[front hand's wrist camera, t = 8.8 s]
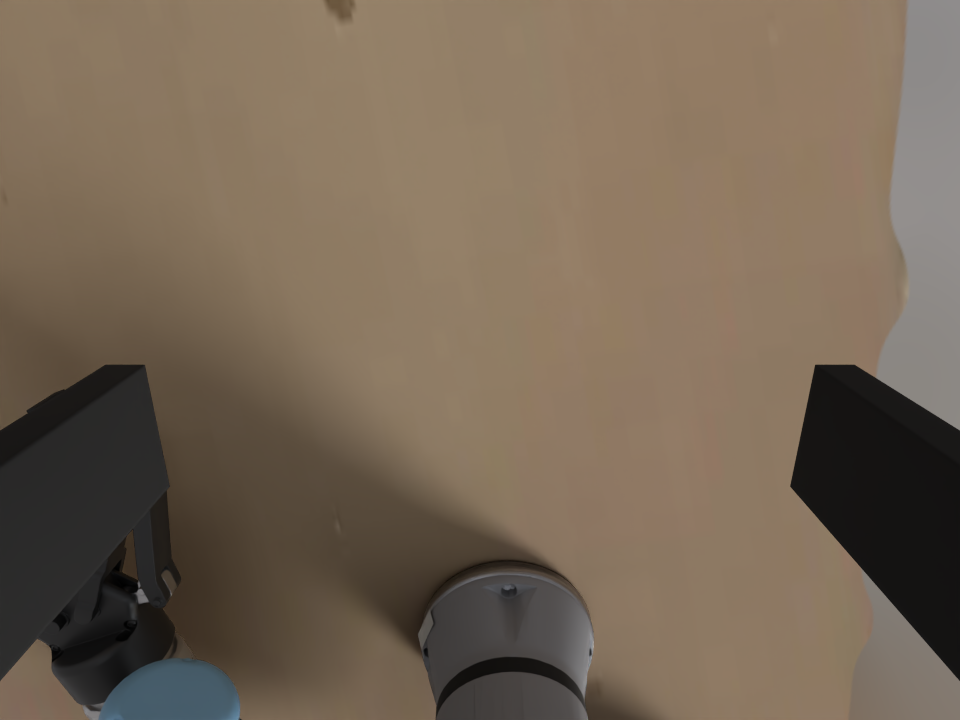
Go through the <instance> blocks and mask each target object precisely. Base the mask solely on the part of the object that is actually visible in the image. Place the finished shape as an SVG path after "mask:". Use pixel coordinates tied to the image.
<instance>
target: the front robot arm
mask: <svg viewBox="0 0 960 720" xmlns="http://www.w3.org/2000/svg"><path fill="white" fill-rule="evenodd" d="M169 487H170V485H169V480H168V476H167V471H166V466H165V461H164V456H163V451H162V446H161V442H160V437H159V432H158V427H157V422H156V417H155V412H154V408H153V403H152V398H151V393H150V388H149V383H148V379H147V374H146V369H145V365H104V366H103V367H101V368H100V369H98V370H96V371H95V372H93V373H92V374H90V375H88V376H87V377H85V378H84V379H82V380H80V381H79V382H77V383H76V384H74V385H72V386H71V387H69V388H68V389H66V390H64V391H63V392H61V393H60V394H58V395H56V396H55V397H53V398H52V399H50V400H48V401H47V402H45V403H44V404H42V405H40V406H39V407H37V408H36V409H34V410H32V411H31V412H29V413H28V414H26V415H24V416H23V417H21V418H20V419H18V420H16V421H15V422H13V423H12V424H10V425H8V426H7V427H5V428H4V429H2V430H0V681H1V679H2V678H3V677H4V676H5V675H6V674H7V673H8V671H9V670H10V669H11V668H12V667H13V666H14V664H15V663H16V662H17V661H18V660H19V659H20V658H21V656H22V655H23V654H24V653H25V652H26V651H27V650H28V648H29V647H30V646H31V645H32V644H33V643H34V642H35V640H36V639H37V638H38V637H39V636H40V635H41V634H42V632H43V631H44V630H45V629H46V628H47V627H48V625H49V624H50V623H51V622H52V621H53V620H54V619H55V617H56V616H57V615H58V614H59V613H60V612H61V611H62V609H63V608H64V607H65V606H66V605H67V604H68V603H69V601H70V600H71V599H72V598H73V597H74V596H75V595H76V593H77V592H78V591H79V590H80V589H81V588H82V587H83V585H84V584H85V583H86V582H87V581H88V580H89V578H90V577H91V576H92V575H93V574H94V573H95V572H96V570H97V569H98V568H99V567H100V566H101V565H102V564H103V562H104V561H105V560H106V559H107V558H108V557H109V556H110V554H111V553H112V552H113V551H114V550H115V549H116V548H117V546H118V545H119V544H120V543H121V542H122V541H123V540H124V538H125V537H126V536H127V535H128V534H129V533H130V531H131V530H132V529H133V528H134V527H135V526H136V525H137V523H138V522H139V521H140V520H141V519H142V518H143V517H144V515H145V514H146V513H147V512H148V511H149V510H150V509H151V507H152V506H153V505H154V504H155V503H156V502H157V501H158V499H159V498H160V497H161V496H162V495H163V494H164V492H165V491H166V490H167V489H168V488H169ZM790 487H791V488H792V489H793V490H794V491H795V492H796V494H797V495H798V496H799V497H800V498H801V499H802V501H803V502H804V503H805V504H806V505H807V506H808V507H809V509H810V510H811V511H812V512H813V513H814V514H815V515H816V517H817V518H818V519H819V520H820V521H821V522H822V523H823V525H824V526H825V527H826V528H827V529H828V530H829V531H830V533H831V534H832V535H833V536H834V537H835V538H836V540H837V541H838V542H839V543H840V544H841V545H842V546H843V548H844V549H845V550H846V551H847V552H848V553H849V554H850V556H851V557H852V558H853V559H854V560H855V561H856V562H857V564H858V565H859V566H860V567H861V568H862V569H863V570H864V572H865V573H866V574H867V575H868V576H869V577H870V578H871V580H872V581H873V582H874V583H875V584H876V585H877V587H878V588H879V589H880V590H881V591H882V592H883V593H884V595H885V596H886V597H887V598H888V599H889V600H890V601H891V603H892V604H893V605H894V606H895V607H896V608H897V609H898V611H899V612H900V613H901V614H902V615H903V616H904V617H905V619H906V620H907V621H908V622H909V623H910V624H911V625H912V627H913V628H914V629H915V630H916V631H917V632H918V634H919V635H920V636H921V637H922V638H923V639H924V640H925V642H926V643H927V644H928V645H929V646H930V647H931V648H932V650H933V651H934V652H935V653H936V654H937V655H938V656H939V658H940V659H941V660H942V661H943V662H944V663H945V664H946V666H947V667H948V668H949V669H950V670H951V671H952V673H953V674H954V675H955V676H956V677H957V678H958V679H959V681H960V430H958V429H956V428H955V427H953V426H952V425H950V424H948V423H947V422H945V421H944V420H942V419H940V418H939V417H937V416H936V415H934V414H932V413H931V412H929V411H928V410H926V409H924V408H923V407H921V406H920V405H918V404H916V403H915V402H913V401H912V400H910V399H908V398H907V397H905V396H904V395H902V394H900V393H899V392H897V391H896V390H894V389H892V388H891V387H889V386H887V385H886V384H884V383H883V382H881V381H880V380H878V379H876V378H875V377H873V376H872V375H870V374H868V373H867V372H865V371H864V370H862V369H860V368H859V367H857V366H856V365H815V369H814V374H813V379H812V383H811V388H810V393H809V398H808V403H807V408H806V412H805V417H804V422H803V427H802V432H801V437H800V442H799V446H798V451H797V456H796V461H795V466H794V471H793V476H792V480H791V485H790Z"/></svg>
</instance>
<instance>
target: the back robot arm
mask: <svg viewBox="0 0 960 720" xmlns="http://www.w3.org/2000/svg"><path fill="white" fill-rule="evenodd" d="M63 391H64V390H61V391H58V392H56V393H53V394H52V395H50V396H49V397H47V398H46V399H44V400H42V401H41V402H39V403H38V404H36V405H35V406H33V407H31V408H30V409H28V410H27V412H28V413H29V412H31V411H32V410H34V409H36V408H37V407H39V406H40V405H42V404H44V403H45V402H47V401H48V400H50V399H52V398H53V397H55V396H56V395H58V394H60V393H61V392H63ZM133 535H134V544H135V554H136V564H137V574H138V580H139V581H138V580H136V579H134V578H132V577H130V576H128V575H126V574H124V573H123V572H122V569H123V564H124V559H125V554H126V548H124V545H125V540H126V537H125V538H124V540H123V541H122V542H121V543H120V544H119V545H118V546H117V548H116V549H115V550H114V551H113V552H112V553H111V554H110V556H109V557H108V558H107V559H106V560H105V561H104V562H103V564H102V565H101V566H100V567H99V568H98V569H97V570H96V572H95V573H94V574H93V575H92V576H91V577H90V578H89V580H88V581H87V582H86V583H85V584H84V585H83V587H82V588H81V589H80V590H79V591H78V592H77V593H76V595H75V596H74V597H73V598H72V599H71V600H70V601H69V603H68V604H67V605H66V606H65V607H64V608H63V609H62V611H61V612H60V613H59V614H58V615H57V616H56V617H55V619H54V620H53V621H52V622H51V623H50V624H49V625H48V627H47V628H46V629H45V630H44V631H43V632H42V634H41V635H40V636H39V637H38V638H37V639H39V640H41V641H43V642H44V643H46V644H47V645H48V646H49V647H50V648H51V651H52V672H53V674H54V675H55V676H56V678H57V679H58V680H59V681H60V683H61V684H62V685H63V686H64V687H65V689H66V690H67V691H68V692H69V693H70V695H71V696H72V697H73V698H74V700H75V701H76V702H77V703H79V704H81V705H83V710H84V712H85V715H86V716H87V717H88V718H89V719H90V720H241V719H240V717H239V716H240V701H239V696H238V693H237V690H236V688H235V686H234V684H233V682H232V681H231V680H230V678H229V677H228V676H227V675H226V674H225V673H224V672H223V671H222V670H221V669H219V668H218V667H216V666H214V665H212V664H210V663H208V662H205V661H202V660H197V658H196V657H195V656H194V654H193V653H192V651H191V650H190V648H189V647H188V645H187V644H186V643H185V641H184V640H183V638H182V637H181V636H180V635H179V634H178V633H175V627H174V625H173V623H172V622H171V620H170V619H169V618H168V616H167V615H166V613H165V612H164V610H163V609H162V608H163V607H164V606H165V605H166V604H167V602H168V601H169V599H170V598H171V596H172V594H173V593H174V591H175V590H176V588H177V587H178V585H179V584H180V582H181V576H180V574H179V572H178V570H177V568H176V566H175V564H174V562H173V560H172V557H171V544H170V531H169V518H168V505H167V491H165V492H164V494H163V495H162V496H161V497H160V498H159V499H158V501H157V502H156V503H155V504H154V505H153V506H152V507H151V509H150V510H149V511H148V512H147V513H146V514H145V515H144V517H143V518H142V519H141V520H140V521H139V522H138V523H137V525H136V526H135V527H134V528H133ZM418 637H419V642H420V646H421V651H422V656H423V660H424V664H425V667H426V670H427V672H428V677H429V681H430V685H431V688H432V692H433V695H434V698H435V702H436V705H437V707H436V720H588V716H587V711H586V706H585V700H584V699H585V693H586V686H587V672H588V669H589V666H590V663H591V660H592V654H593V647H594V633H593V628H592V624H591V619H590V615H589V611H588V608H587V605H586V603H585V601H584V599H583V598H582V596H581V595H580V593H579V592H578V591H577V590H576V589H575V587H574V586H572V585H571V584H570V583H569V582H568V581H567V580H565V579H564V578H563V577H561V576H560V575H558V574H556V573H554V572H552V571H550V570H548V569H546V568H543V567H540V566H537V565H533V564H529V563H523V562H511V561H505V562H493V563H487V564H482V565H479V566H475V567H472V568H470V569H467V570H465V571H463V572H461V573H459V574H457V575H456V576H454V577H452V578H451V579H450V580H448V581H447V582H446V583H445V584H443V585H442V586H441V587H440V588H439V589H438V590H437V592H436V593H435V594H434V595H433V597H432V598H431V600H430V602H429V604H428V605H427V608H426V610H425V614H424V617H423V624H422V627H421V629H420V631H419V633H418Z"/></svg>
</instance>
